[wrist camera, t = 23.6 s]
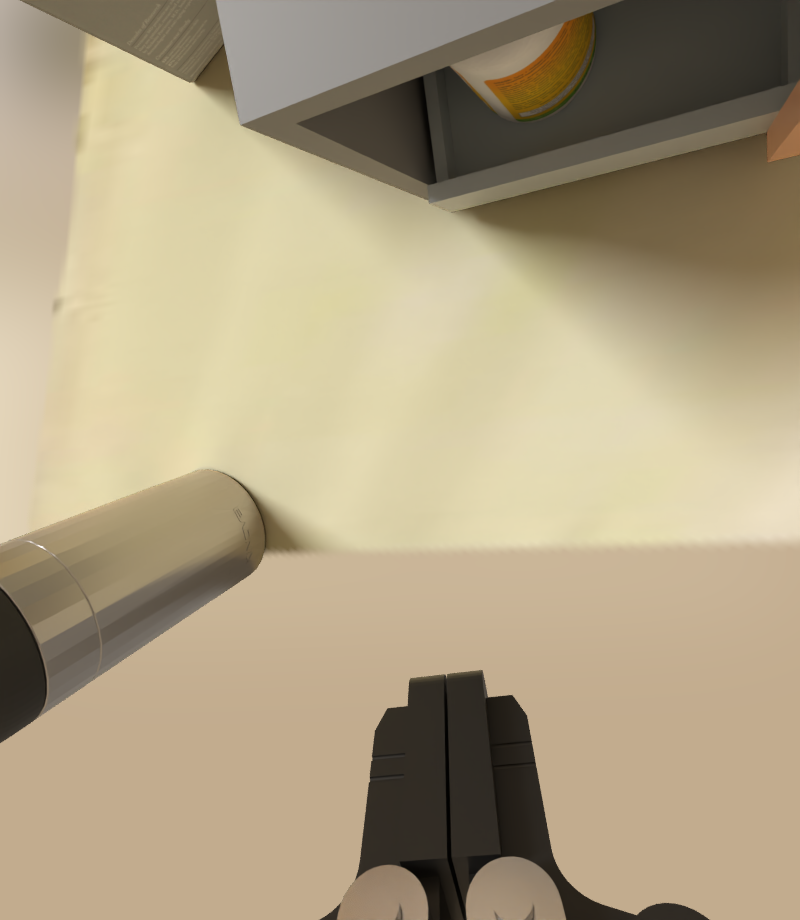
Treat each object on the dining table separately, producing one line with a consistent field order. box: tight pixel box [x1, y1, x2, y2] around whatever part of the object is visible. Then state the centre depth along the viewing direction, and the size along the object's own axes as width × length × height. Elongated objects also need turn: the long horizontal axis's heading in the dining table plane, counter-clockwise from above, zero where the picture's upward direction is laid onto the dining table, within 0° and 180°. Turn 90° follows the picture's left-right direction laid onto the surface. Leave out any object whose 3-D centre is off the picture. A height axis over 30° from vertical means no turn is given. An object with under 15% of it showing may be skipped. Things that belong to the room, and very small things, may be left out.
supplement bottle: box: [450, 12, 597, 123], centre depth 21 cm, size 5×5×10 cm
